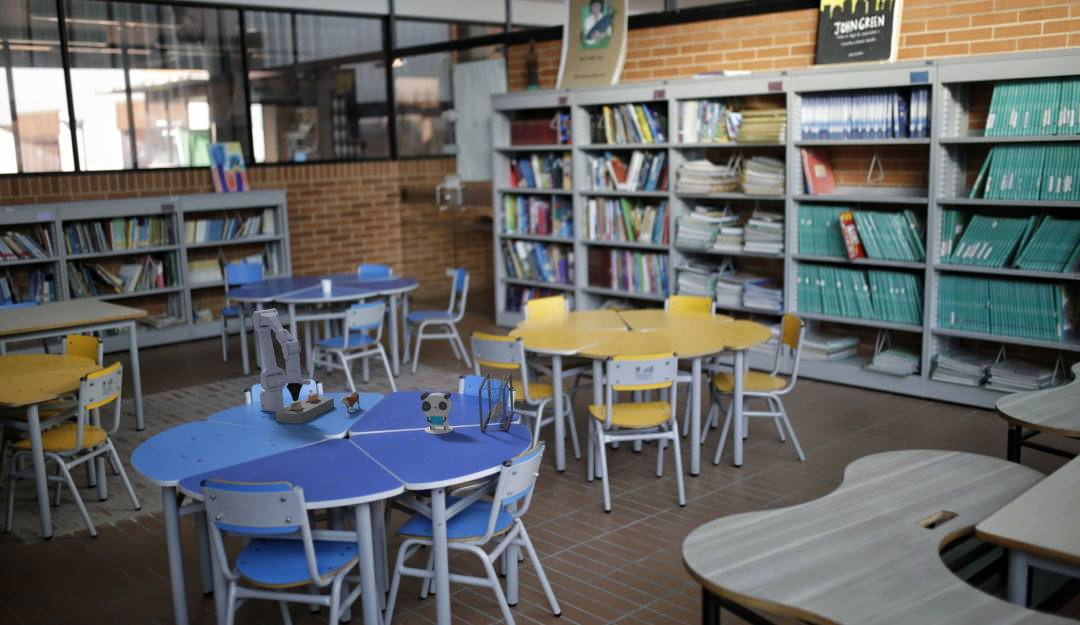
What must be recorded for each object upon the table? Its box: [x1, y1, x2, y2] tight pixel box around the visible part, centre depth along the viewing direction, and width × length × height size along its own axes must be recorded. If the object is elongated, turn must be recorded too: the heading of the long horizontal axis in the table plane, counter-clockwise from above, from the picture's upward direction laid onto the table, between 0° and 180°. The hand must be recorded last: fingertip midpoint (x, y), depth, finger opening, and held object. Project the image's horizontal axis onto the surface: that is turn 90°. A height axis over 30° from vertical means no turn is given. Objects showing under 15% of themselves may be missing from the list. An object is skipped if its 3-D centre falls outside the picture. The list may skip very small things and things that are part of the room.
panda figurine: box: [420, 391, 454, 435], centre depth 382 cm, size 12×11×15 cm
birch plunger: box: [290, 400, 302, 411], centre depth 405 cm, size 4×4×4 cm
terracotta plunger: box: [307, 392, 320, 403], centre depth 417 cm, size 4×4×4 cm
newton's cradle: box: [478, 371, 514, 432], centre depth 390 cm, size 30×10×18 cm, turn 176°
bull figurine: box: [339, 391, 360, 414], centre depth 414 cm, size 4×13×8 cm, turn 163°
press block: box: [275, 396, 335, 425], centre depth 412 cm, size 12×26×4 cm, turn 160°
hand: (295, 400), depth 405 cm, fingers closed
